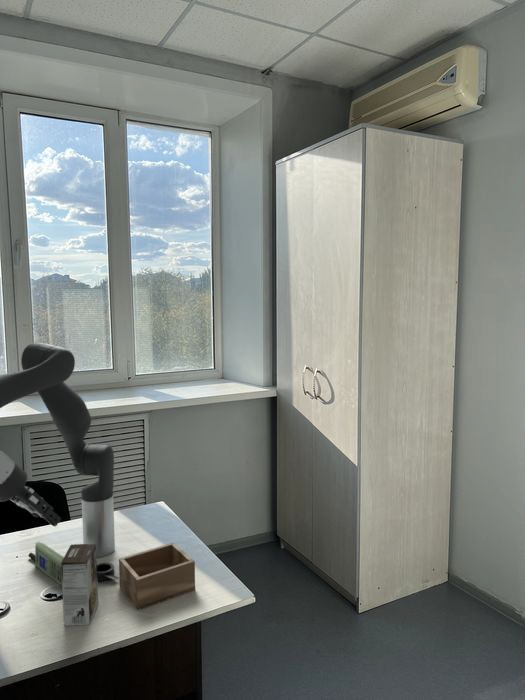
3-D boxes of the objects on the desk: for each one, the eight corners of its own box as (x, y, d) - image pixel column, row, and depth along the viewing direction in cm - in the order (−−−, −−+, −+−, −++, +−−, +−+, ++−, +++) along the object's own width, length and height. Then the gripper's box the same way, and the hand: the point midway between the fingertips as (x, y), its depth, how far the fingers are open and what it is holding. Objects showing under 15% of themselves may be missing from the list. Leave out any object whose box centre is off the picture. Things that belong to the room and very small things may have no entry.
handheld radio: (66, 592, 140) (24, 560, 156) (77, 587, 142) (35, 557, 159) (66, 568, 139) (24, 539, 156) (77, 563, 142) (35, 535, 158)
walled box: (119, 586, 142) (118, 558, 141) (174, 569, 151) (173, 542, 150) (138, 610, 131) (137, 580, 130) (195, 589, 140) (194, 561, 139)
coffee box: (73, 604, 134) (70, 543, 132) (99, 603, 134) (96, 542, 133) (62, 626, 125) (59, 562, 123) (90, 625, 125) (88, 560, 124)
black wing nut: (91, 589, 141) (90, 579, 140) (87, 571, 150) (87, 562, 149) (120, 583, 144) (120, 573, 143) (115, 566, 153) (115, 557, 152)
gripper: (26, 465, 107) (76, 511, 116) (-2, 455, 117) (45, 498, 125) (-2, 495, 103) (51, 540, 112) (-29, 482, 113) (22, 524, 121)
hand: (48, 518), depth 119 cm, fingers open, 8 cm apart
